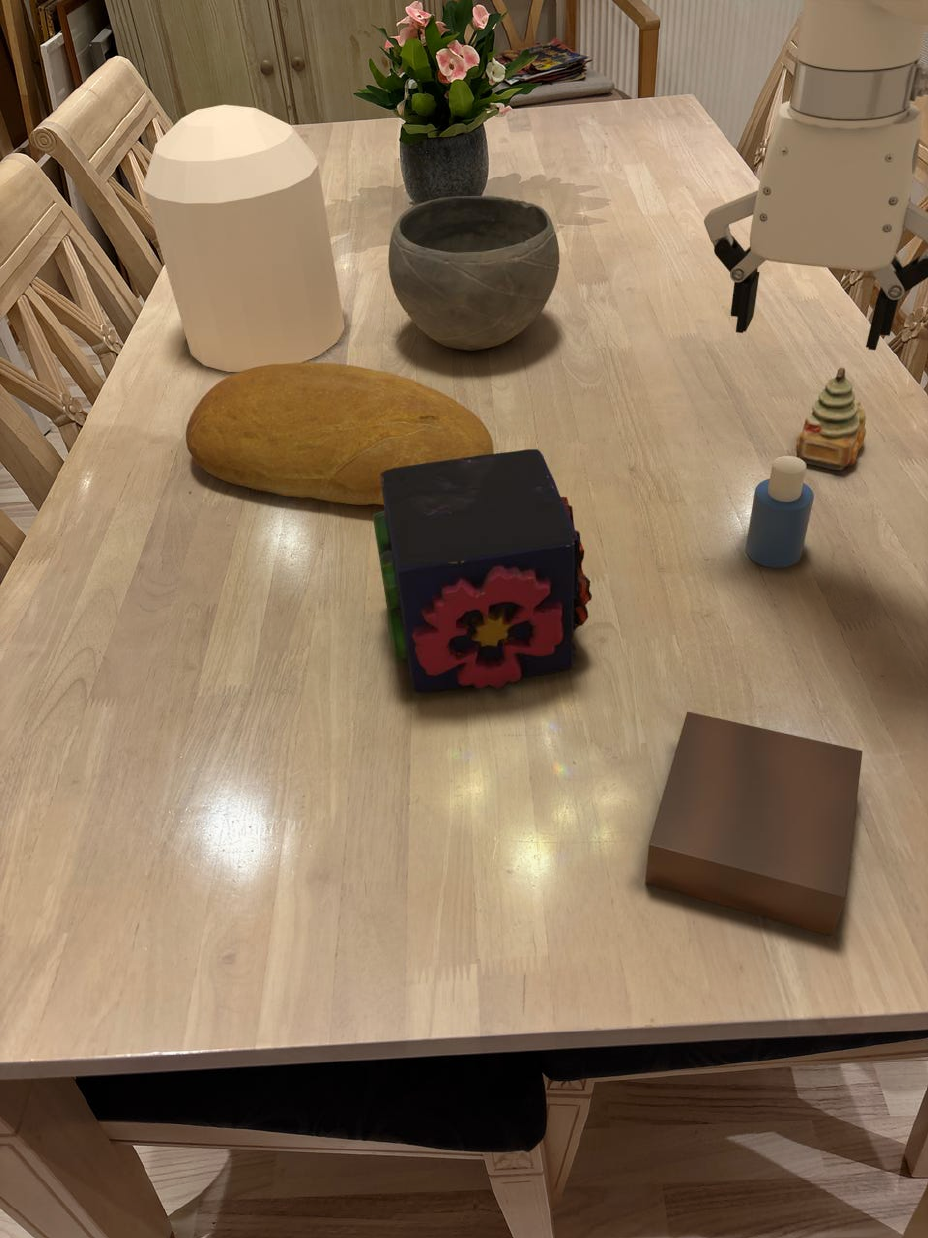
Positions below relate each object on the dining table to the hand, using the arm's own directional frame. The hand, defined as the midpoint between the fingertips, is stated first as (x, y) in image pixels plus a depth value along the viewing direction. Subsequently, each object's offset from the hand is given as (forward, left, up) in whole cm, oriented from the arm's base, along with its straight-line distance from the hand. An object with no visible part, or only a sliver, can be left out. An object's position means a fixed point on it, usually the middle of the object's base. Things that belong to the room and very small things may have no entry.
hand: (807, 333), depth 75 cm
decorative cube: (+22, +17, -22) cm, 35 cm away
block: (-3, +31, -22) cm, 38 cm away
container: (+70, -29, -22) cm, 78 cm away
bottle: (0, -1, -22) cm, 22 cm away
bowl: (+42, -35, -22) cm, 58 cm away
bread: (+46, -4, -22) cm, 51 cm away
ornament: (-3, -19, -22) cm, 29 cm away
